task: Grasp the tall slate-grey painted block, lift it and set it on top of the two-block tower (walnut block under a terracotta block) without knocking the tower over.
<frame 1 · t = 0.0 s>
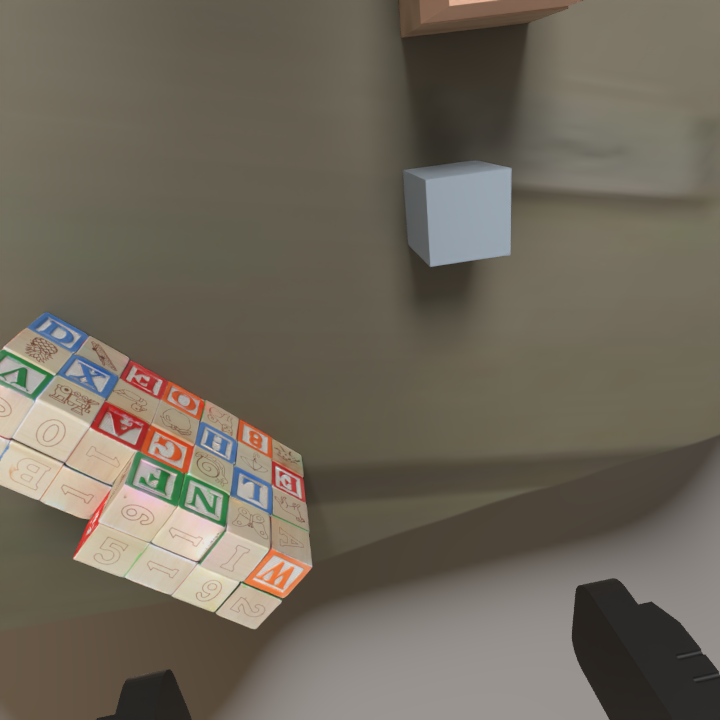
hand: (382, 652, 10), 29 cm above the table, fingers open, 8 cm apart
stack of blocks: (166, 417, 40), on the table
slate block: (440, 203, 36), on the table
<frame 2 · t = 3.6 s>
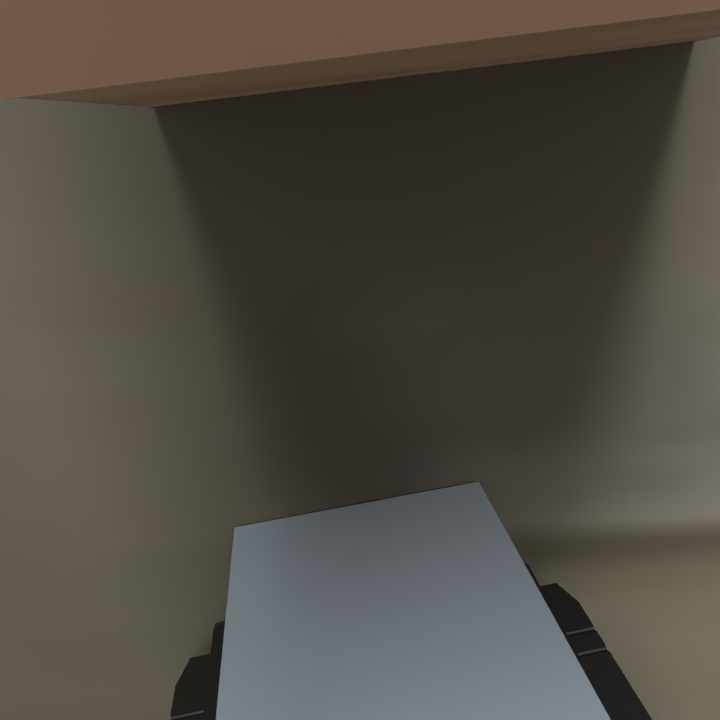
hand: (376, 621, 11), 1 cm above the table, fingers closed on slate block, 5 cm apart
slate block: (371, 591, 12), on the table, touching gripper
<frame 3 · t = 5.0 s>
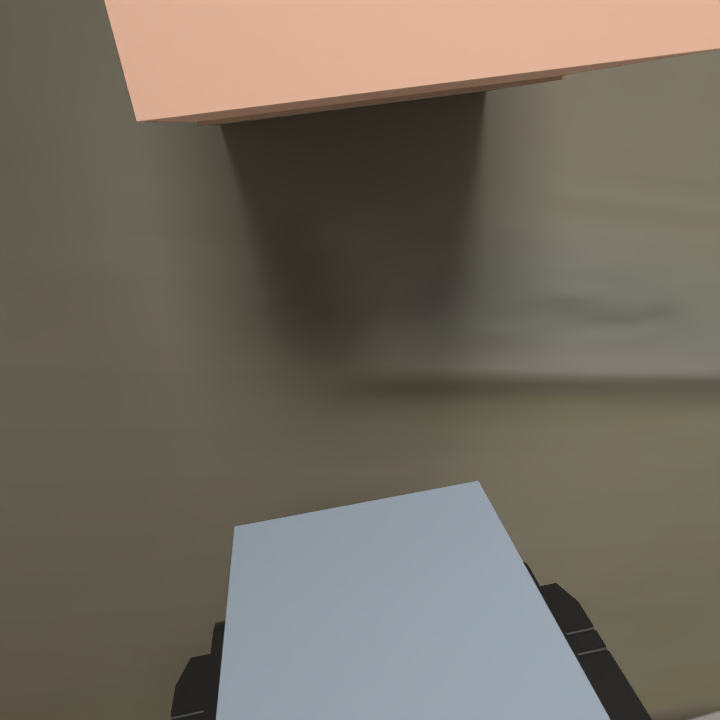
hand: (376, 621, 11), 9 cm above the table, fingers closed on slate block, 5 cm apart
slate block: (371, 590, 12), point 9 cm above the table, touching gripper
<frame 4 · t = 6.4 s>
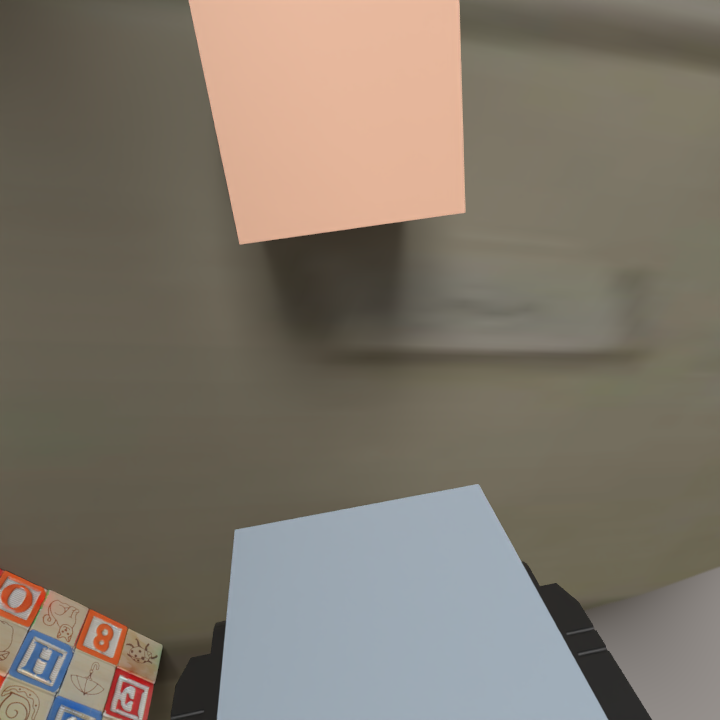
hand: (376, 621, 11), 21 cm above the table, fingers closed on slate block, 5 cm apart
stack of blocks: (3, 603, 35), on the table
slate block: (371, 593, 12), point 20 cm above the table, touching gripper
tower top: (326, 106, 21), point 5 cm above the table, touching tower base
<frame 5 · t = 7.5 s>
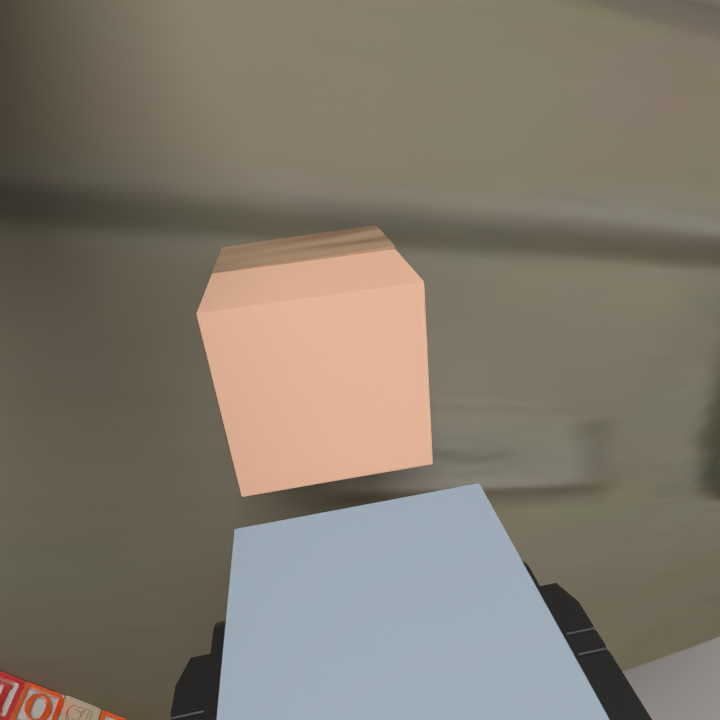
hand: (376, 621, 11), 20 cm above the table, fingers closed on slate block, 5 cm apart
stack of blocks: (23, 706, 39), on the table
slate block: (371, 593, 12), point 19 cm above the table, touching gripper
tower top: (317, 345, 25), point 5 cm above the table, touching tower base
tower base: (311, 307, 29), on the table, touching tower top
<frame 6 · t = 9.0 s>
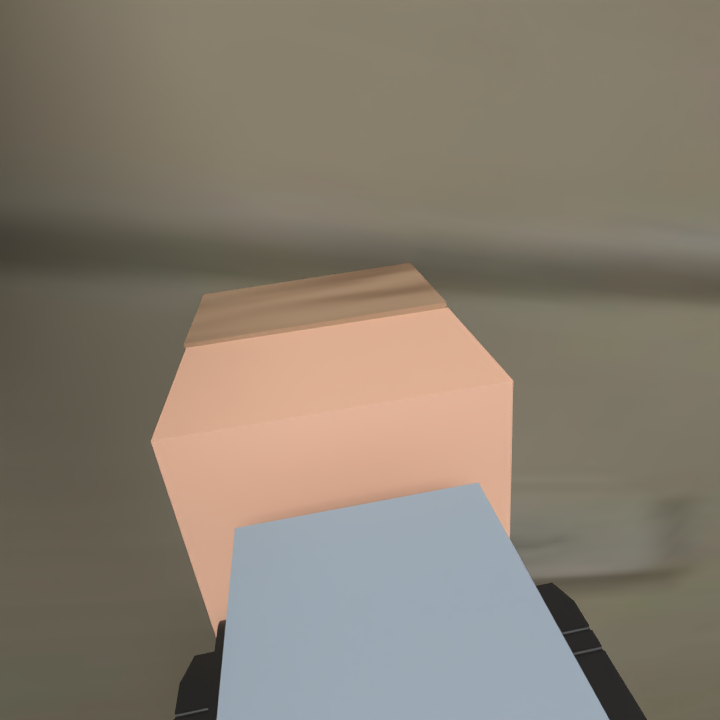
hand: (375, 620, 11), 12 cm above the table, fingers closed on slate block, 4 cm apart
slate block: (371, 592, 12), point 11 cm above the table, touching gripper
tower top: (336, 437, 18), point 5 cm above the table, touching tower base
tower base: (323, 369, 22), on the table, touching tower top
when the fingers open (12 cm above the table, at t = 9.2 s): slate block drops 2 cm, resting on tower top.
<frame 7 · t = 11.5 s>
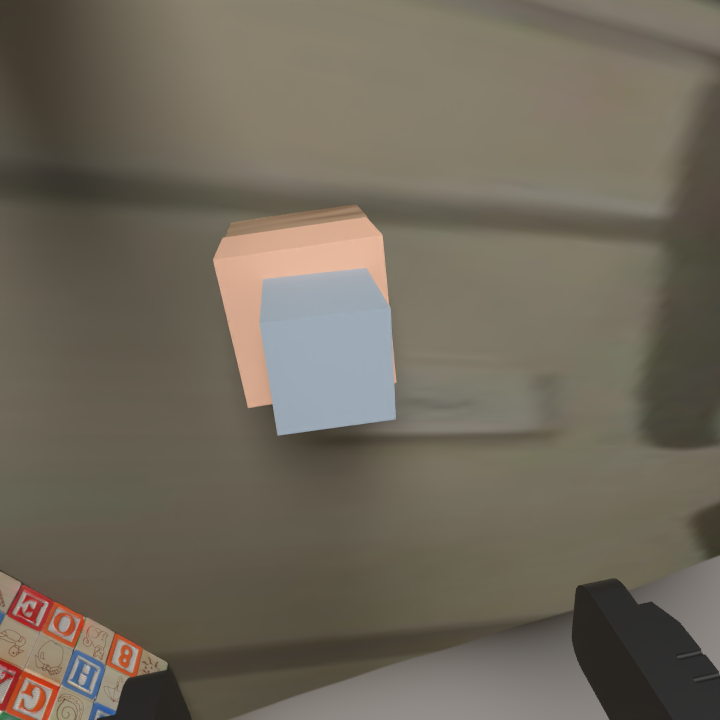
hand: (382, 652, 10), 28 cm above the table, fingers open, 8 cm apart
stack of blocks: (48, 625, 45), on the table
slate block: (320, 321, 27), point 10 cm above the table, touching tower top
tower top: (306, 295, 31), point 5 cm above the table, touching slate block, tower base
tower base: (304, 273, 36), on the table, touching tower top
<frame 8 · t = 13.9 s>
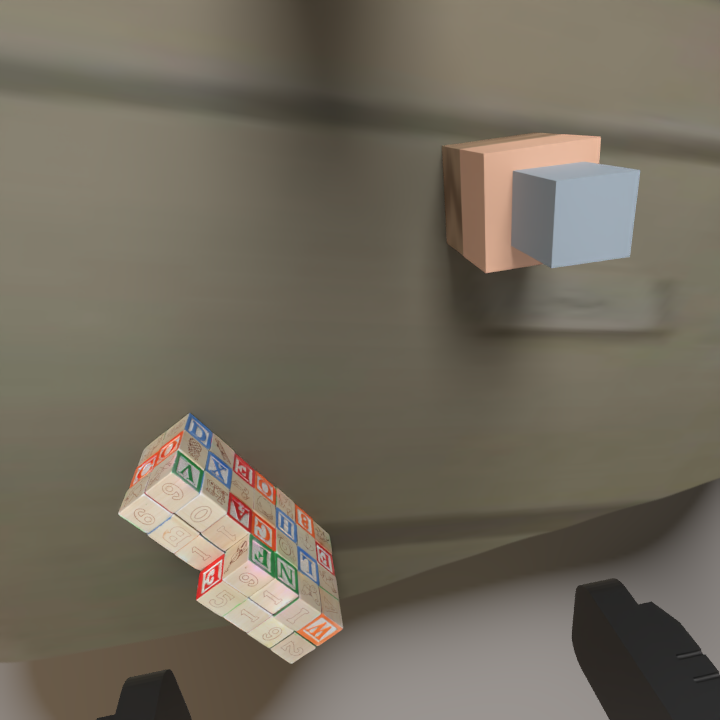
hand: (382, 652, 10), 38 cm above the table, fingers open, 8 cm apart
stack of blocks: (243, 493, 55), on the table
slate block: (546, 204, 36), point 10 cm above the table, touching tower top
tower top: (511, 197, 41), point 5 cm above the table, touching slate block, tower base
tower base: (489, 189, 45), on the table, touching tower top
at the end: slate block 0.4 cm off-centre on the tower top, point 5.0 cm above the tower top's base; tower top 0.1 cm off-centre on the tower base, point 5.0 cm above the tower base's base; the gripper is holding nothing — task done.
